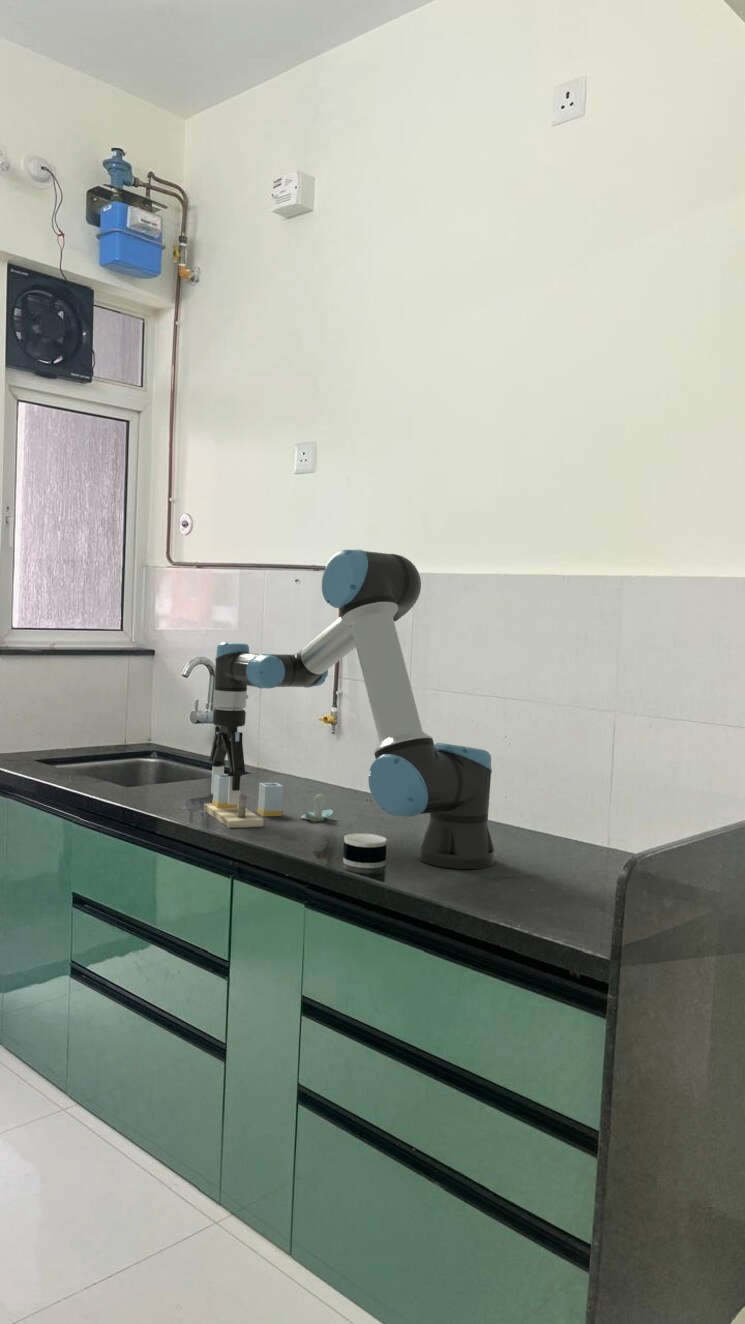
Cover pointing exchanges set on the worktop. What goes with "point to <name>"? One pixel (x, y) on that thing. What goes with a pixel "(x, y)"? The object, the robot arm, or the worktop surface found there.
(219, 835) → the worktop surface
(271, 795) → the sleeve
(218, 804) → the sleeve
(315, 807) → the pacifier
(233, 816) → the pin board
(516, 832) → the worktop surface
